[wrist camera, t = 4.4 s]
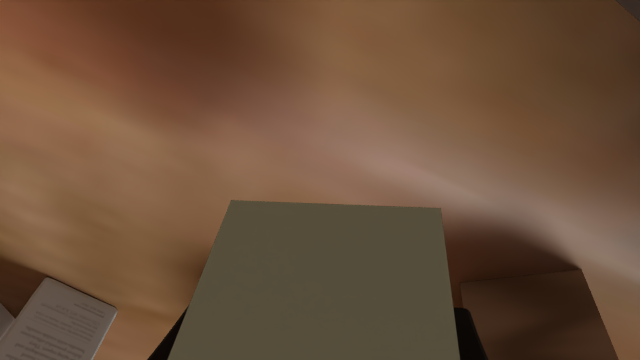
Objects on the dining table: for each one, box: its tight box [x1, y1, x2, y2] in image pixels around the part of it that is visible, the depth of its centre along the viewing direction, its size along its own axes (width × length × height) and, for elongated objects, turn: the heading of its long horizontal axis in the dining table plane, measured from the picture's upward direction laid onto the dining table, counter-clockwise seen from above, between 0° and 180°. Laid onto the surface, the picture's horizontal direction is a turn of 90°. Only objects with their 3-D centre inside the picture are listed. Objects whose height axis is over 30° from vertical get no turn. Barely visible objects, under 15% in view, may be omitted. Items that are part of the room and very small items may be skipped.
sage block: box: [168, 200, 460, 360], centre depth 11 cm, size 5×5×5 cm
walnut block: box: [460, 269, 619, 360], centre depth 20 cm, size 5×5×5 cm
